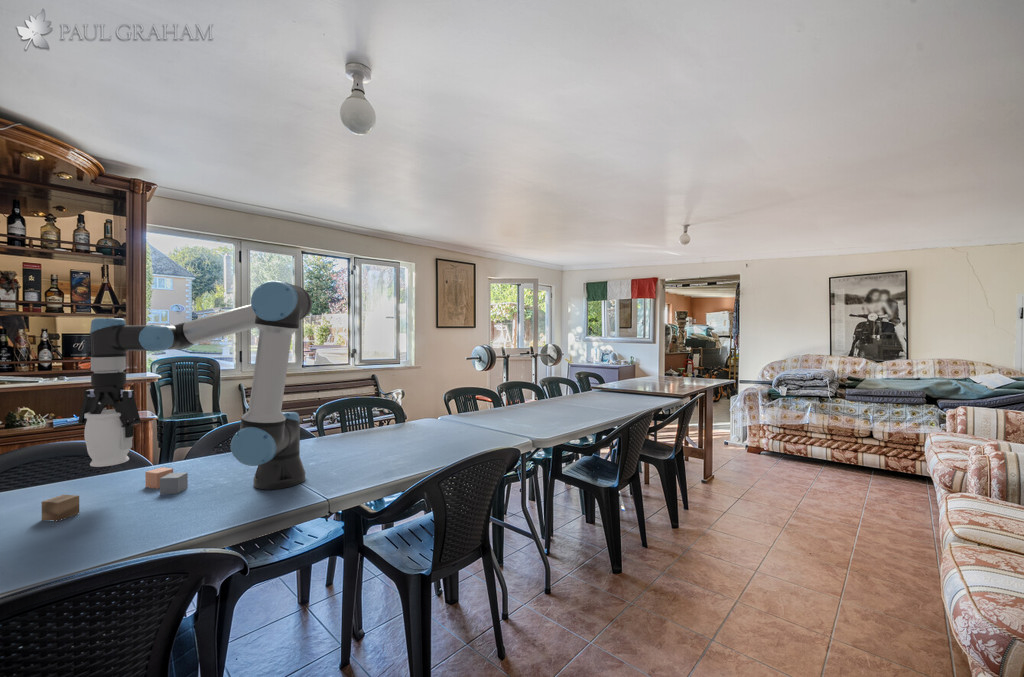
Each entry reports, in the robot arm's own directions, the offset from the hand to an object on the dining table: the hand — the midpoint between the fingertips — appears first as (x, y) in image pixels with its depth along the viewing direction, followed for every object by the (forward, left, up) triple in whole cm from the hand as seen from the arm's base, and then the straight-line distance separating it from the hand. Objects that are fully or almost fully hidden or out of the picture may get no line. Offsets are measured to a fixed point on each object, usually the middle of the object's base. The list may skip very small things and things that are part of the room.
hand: (109, 448), depth 128 cm
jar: (0, 0, -5) cm, 5 cm away
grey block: (-11, -10, -16) cm, 22 cm away
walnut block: (+2, +11, -16) cm, 19 cm away
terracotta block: (-2, -14, -16) cm, 21 cm away
